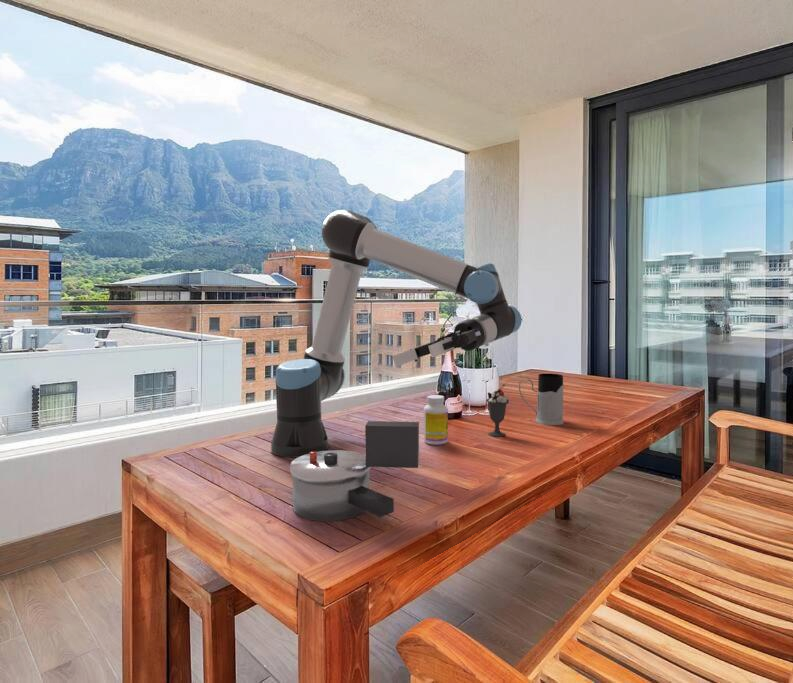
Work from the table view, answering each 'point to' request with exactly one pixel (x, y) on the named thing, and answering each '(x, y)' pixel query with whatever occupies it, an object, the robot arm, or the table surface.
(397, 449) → the lid
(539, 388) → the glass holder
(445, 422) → the supplement bottle
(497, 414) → the sundae
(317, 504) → the pot
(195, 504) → the table surface
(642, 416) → the table surface
